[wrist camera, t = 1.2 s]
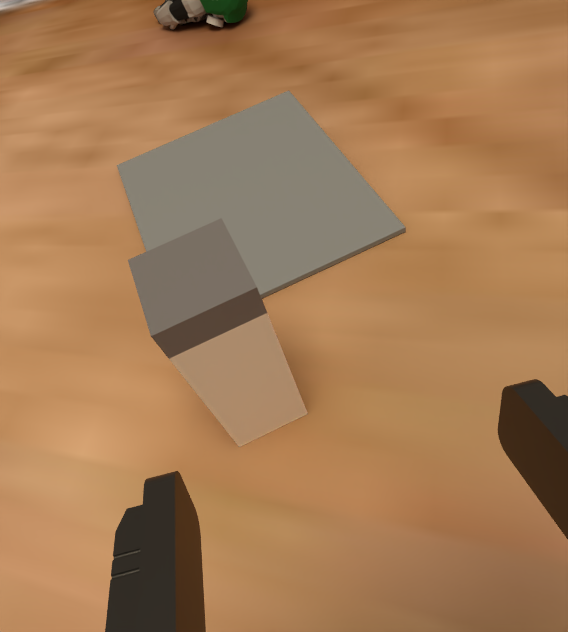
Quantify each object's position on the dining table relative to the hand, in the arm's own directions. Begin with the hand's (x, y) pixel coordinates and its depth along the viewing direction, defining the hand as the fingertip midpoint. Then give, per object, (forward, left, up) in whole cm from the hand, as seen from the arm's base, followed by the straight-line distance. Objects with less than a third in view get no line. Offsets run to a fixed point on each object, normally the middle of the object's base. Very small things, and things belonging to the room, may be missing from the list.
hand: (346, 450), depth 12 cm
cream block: (+2, -12, -19) cm, 23 cm away
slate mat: (-4, -32, -19) cm, 38 cm away
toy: (-11, -68, -19) cm, 72 cm away
